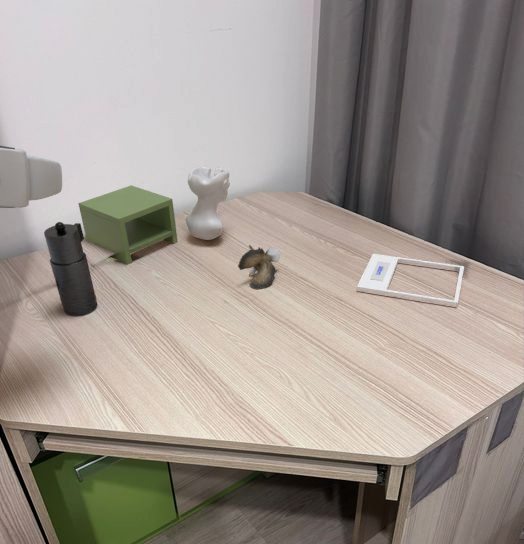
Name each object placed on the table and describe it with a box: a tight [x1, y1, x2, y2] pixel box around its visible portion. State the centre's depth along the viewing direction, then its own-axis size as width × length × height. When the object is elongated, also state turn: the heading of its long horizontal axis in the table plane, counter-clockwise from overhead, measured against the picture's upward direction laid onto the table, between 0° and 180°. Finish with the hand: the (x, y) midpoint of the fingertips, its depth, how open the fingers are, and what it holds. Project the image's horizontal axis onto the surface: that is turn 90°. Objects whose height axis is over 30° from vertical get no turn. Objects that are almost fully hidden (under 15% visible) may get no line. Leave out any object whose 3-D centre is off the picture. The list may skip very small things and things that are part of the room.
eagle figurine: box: [237, 244, 281, 290], centre depth 104 cm, size 8×7×9 cm
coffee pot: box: [43, 221, 98, 317], centre depth 95 cm, size 10×6×16 cm, turn 174°
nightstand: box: [78, 185, 179, 266], centre depth 117 cm, size 14×14×10 cm
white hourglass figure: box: [185, 166, 231, 241], centre depth 118 cm, size 10×11×15 cm
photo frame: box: [356, 253, 465, 308], centre depth 103 cm, size 15×1×18 cm
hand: (2, 168), depth 74 cm, fingers open, 8 cm apart
